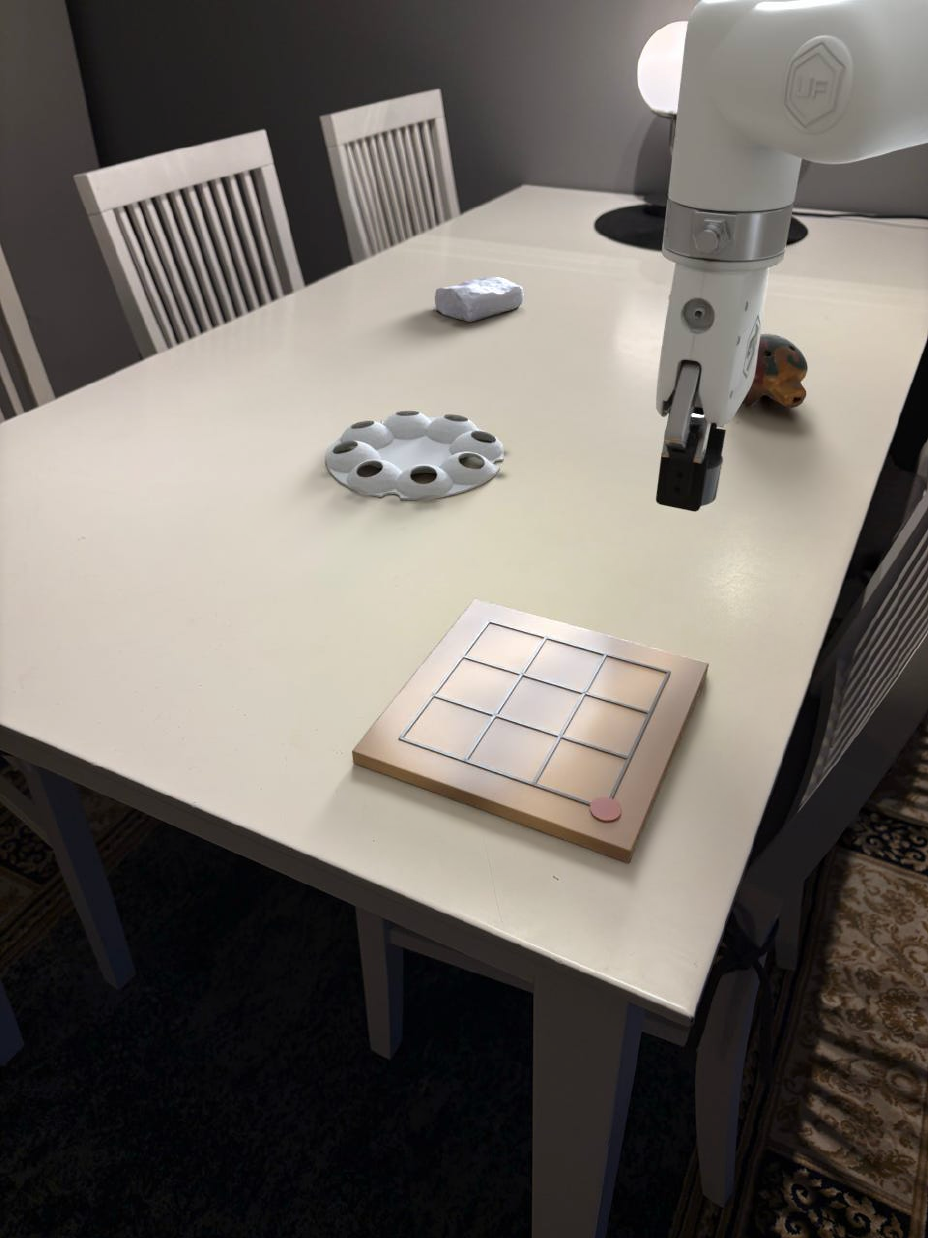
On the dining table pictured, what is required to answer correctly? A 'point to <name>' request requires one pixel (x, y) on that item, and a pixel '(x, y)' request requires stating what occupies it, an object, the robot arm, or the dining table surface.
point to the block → (478, 298)
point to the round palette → (414, 455)
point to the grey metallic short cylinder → (711, 475)
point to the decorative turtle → (778, 372)
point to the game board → (540, 725)
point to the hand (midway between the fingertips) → (687, 488)
